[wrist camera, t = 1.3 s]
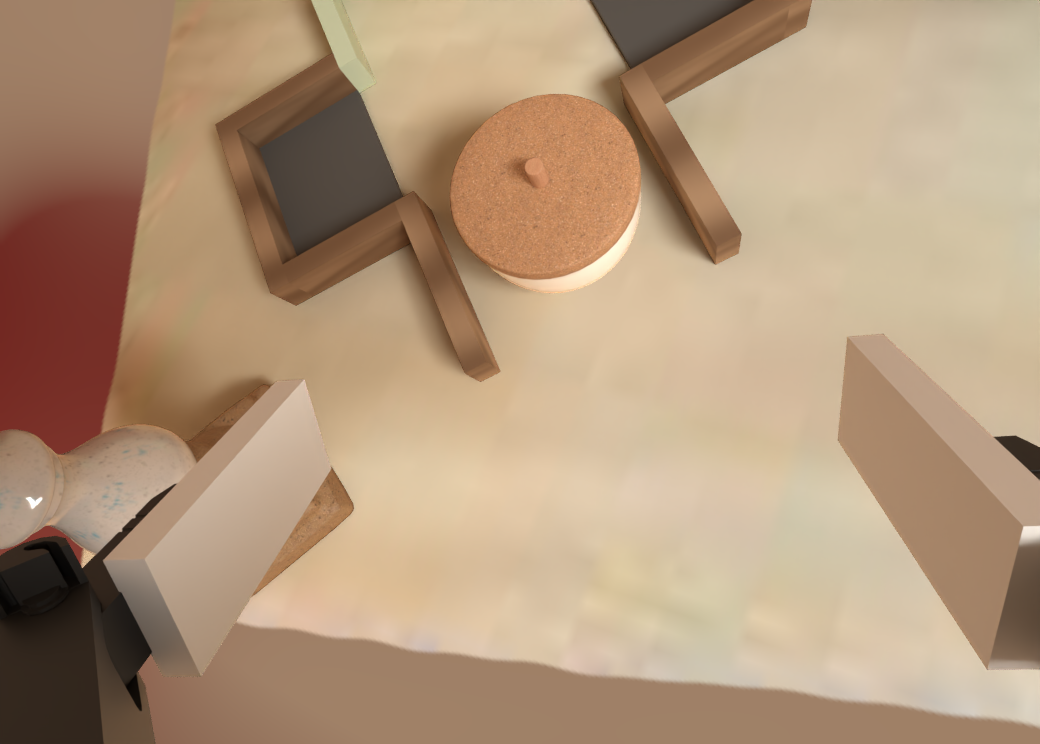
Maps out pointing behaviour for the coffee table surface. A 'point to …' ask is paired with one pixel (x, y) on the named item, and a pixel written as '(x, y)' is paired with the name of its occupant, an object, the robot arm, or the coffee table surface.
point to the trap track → (403, 220)
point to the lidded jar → (548, 192)
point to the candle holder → (129, 484)
